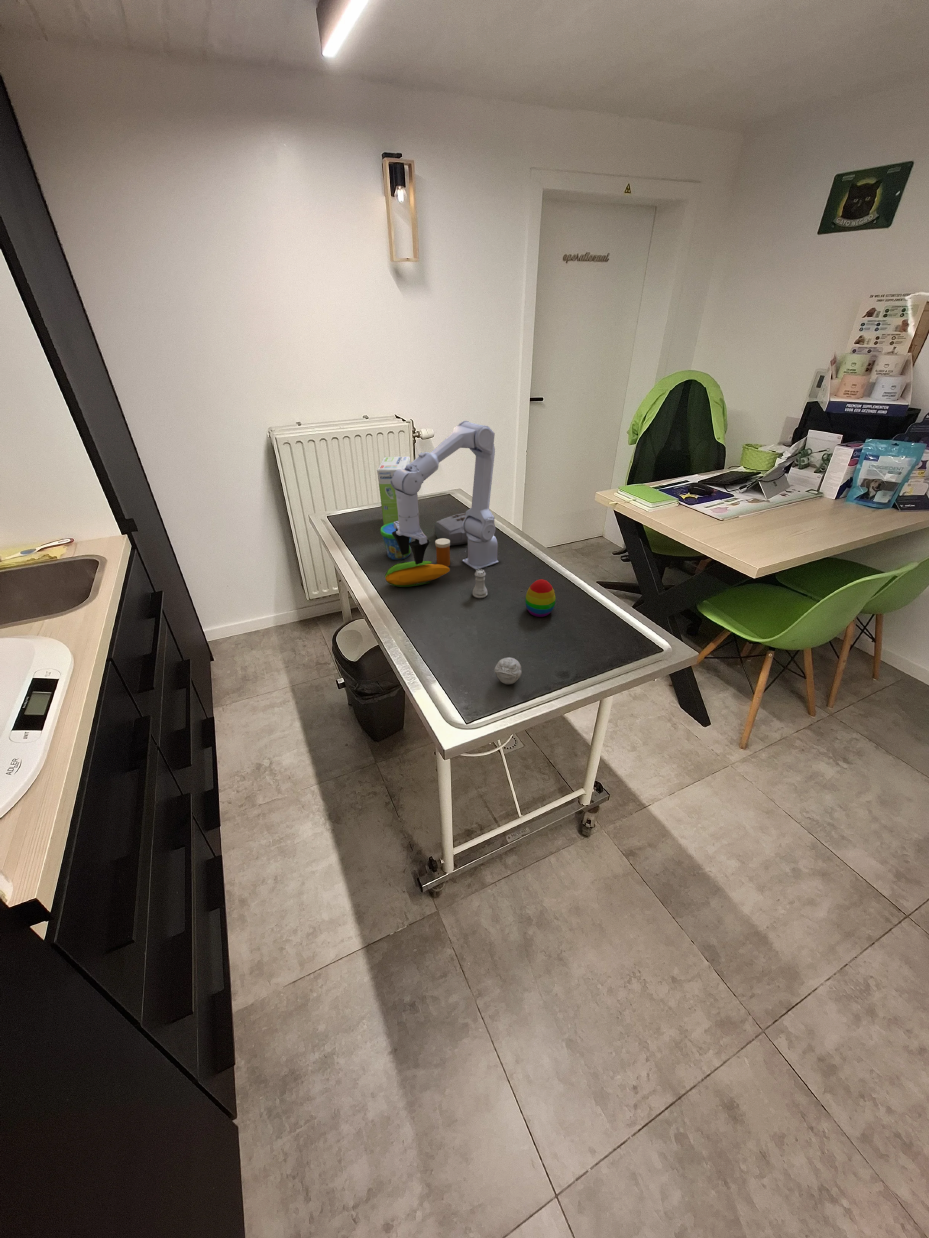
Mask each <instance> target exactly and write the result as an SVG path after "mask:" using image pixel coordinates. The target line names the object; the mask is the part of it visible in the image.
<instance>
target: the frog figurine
mask: <svg viewBox="0 0 929 1238" xmlns="http://www.w3.org/2000/svg"><path fill="white" fill-rule="evenodd" d="M520 663H521V662H520V661H518V660H517V658H516V659H515V658H514V657H504V658H501V659H499V661H498V662H497V663H496V665H495V667H494V673H495V674H496V677H497V679H498V680H499V681H500V682H501V683H502V684H504V685H513V684H515V683H516V682H517V681H519V679H520V677H521V676H522V665H521V664H520Z"/></svg>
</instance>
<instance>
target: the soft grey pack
mask: <svg viewBox="0 0 929 1238" xmlns="http://www.w3.org/2000/svg"><path fill="white" fill-rule="evenodd" d="M465 516H466V512H464V513H456V514H453V515H450V516H447V517H444V518H441V519H439V520H437V521H436V522H435V523H434V529H433V530H434V534H435V535H436V538H437V539H440V538H446V539H449V540H450V546H461V545H466V544H468V537H467V536H466V532H465V531H464V530H463V521H464V519H465Z"/></svg>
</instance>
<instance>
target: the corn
mask: <svg viewBox="0 0 929 1238" xmlns="http://www.w3.org/2000/svg"><path fill="white" fill-rule="evenodd" d="M450 571H451V568H450V567H449V566H448V567H446V566H444V565H440V564H437V563H433V561H431V560H423V563H420V564H415V561H414V560H412V561H404V562H403V561H402V562H399V563H395V564H393V565H391V566H390V567H389V568H388V569H387V570H386V571H385V575H384V578H385V581H386V582H387V583H388V584H389V585H390V586H393V587H397V588H409V587H415V586H416V587H417V586H423V585H426V584H430V583H431V581H434V580H437V579H439V578H441V577H442V576H445V575H447V573H449V572H450Z"/></svg>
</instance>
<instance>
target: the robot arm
mask: <svg viewBox="0 0 929 1238" xmlns="http://www.w3.org/2000/svg"><path fill="white" fill-rule="evenodd" d="M495 434H496V433H495V431H494V430H493V429H492V428H491V427H490V426H488V425H484V424H479V423H476V422H471V421H469V420H462V421H460V422H459V423H458V424H457V425H455V426H454V427H453V429H452V432H451V433H450V434H448V436H447V437H446V438H444V439H443V441H442V442H440V443H439V444H438V445H437V446H436V447H435V448H434V449H433V450H432V451H431V452H429V451H424V452H422V451H421V452H419V454H418V457H416V458H415V459H414V460H412V461H410V464H407V465H406V467H405V468H404V469H398V470H397V471H395V473H394V474H393V476H392V480H391V481H390V482H391V485H392V487H393V488H394V489H395V494H396V498H397V509H398V519H399V521H395V522H394V528H395V529H396V531H394V532H392V535H393V536H394V538H395V539H396V541H397V543H398V546H399V549H400V552H401V554H402V555H405V554H408V553H409V545H410V547H411V548H410V550H412V551H411V552H412V555H413V561H415V564H420V563H423V561H424V558H425V555H426V554H425V553H426V550H427V548H428V547H429V544H430V540H429V539H428V536H427V535H426V534H425V533H424V531H423V530H422V527H420V525H421V524H420V511H419V497H418V496H419V495H418V493H419V492H420V490H421V488H422V485H423V484H424V482H425V481H426V480H427V479H428V478H430V477H431V476H432V475H434V474H435V472H437V471H438V470H439V467H440V466H439V465H440V463H441V462H442V461H444V460H445V459H446V458H448V457H450V456H451V455H452V454H454V453H455V452H457V451H458V450H459V449H469V450H470V451H471V453H473V454H474V455H475V461H474V462H475V463H474V473H473V486H472V498H471V507H469V509H467V510H466V511H465V513H466V516H465V519H464V521H463V530H464V531H465V532H466V536H467V537H468V543H467V558H464V559H462V562H463V563H464V564H466V565H468V566H469V567H470V568H472V569H473V570H475V571H476V570H477V571H478V569H479V570H481V569H484V568H487V567H490V566H492V565H495V564H498V563H499V560H498V547H499V543H498V539H497V538H496V536H495V534H496V524H495V516H494V514H493V512H492V511H491V510H490V503H491V495H492V494H491V493H492V484H493V476H494V475H493V474H494V466H495V465H494V463H495V455H496V448H495ZM410 537H411V539H414V540H413V541H411V542H410V543H409V539H410Z"/></svg>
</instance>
